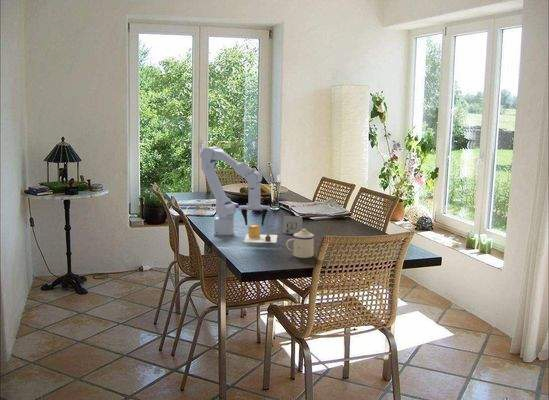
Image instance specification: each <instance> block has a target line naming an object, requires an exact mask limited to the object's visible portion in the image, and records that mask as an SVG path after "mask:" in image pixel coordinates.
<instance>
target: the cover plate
mask: <svg viewBox="0 0 549 400" xmlns="http://www.w3.org/2000/svg"><path fill="white" fill-rule="evenodd" d="M277 240H278V234H270V233H266V234H260V237H257V238H252V237H249V233H246V234H245V237H244V240H243V243H261V244H262V243H263V244H265V243H266V244H267V243H268V244H269V243H270V244H271V243H272V244H276V243H277Z"/></svg>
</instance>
